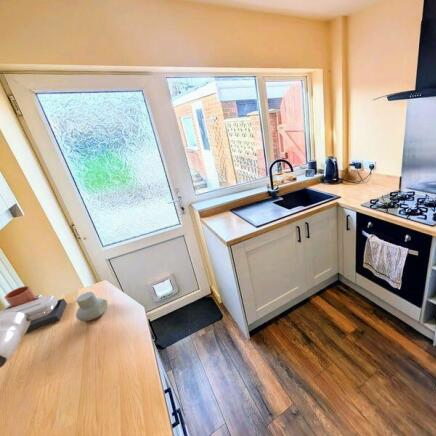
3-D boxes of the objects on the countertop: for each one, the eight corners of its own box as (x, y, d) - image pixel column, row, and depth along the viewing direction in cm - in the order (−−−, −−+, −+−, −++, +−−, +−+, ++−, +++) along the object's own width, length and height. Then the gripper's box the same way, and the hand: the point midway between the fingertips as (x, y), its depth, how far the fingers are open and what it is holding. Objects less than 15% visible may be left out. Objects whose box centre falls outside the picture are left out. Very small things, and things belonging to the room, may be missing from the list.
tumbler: (19, 324, 88) (0, 301, 84) (26, 313, 93) (9, 290, 89) (42, 316, 91) (25, 293, 86) (47, 305, 96) (32, 283, 91)
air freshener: (100, 321, 100) (89, 303, 96) (77, 326, 99) (65, 308, 95) (111, 303, 110) (101, 285, 106) (91, 307, 109) (80, 290, 105)
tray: (21, 334, 98) (17, 329, 97) (32, 315, 108) (29, 310, 107) (59, 320, 103) (56, 315, 102) (67, 303, 113) (63, 298, 112)
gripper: (45, 305, 82) (57, 283, 93) (-41, 334, 74) (-17, 306, 85) (55, 318, 85) (65, 295, 96) (-28, 349, 76) (-6, 320, 88)
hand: (26, 301), depth 90 cm, fingers closed on tumbler, 6 cm apart
